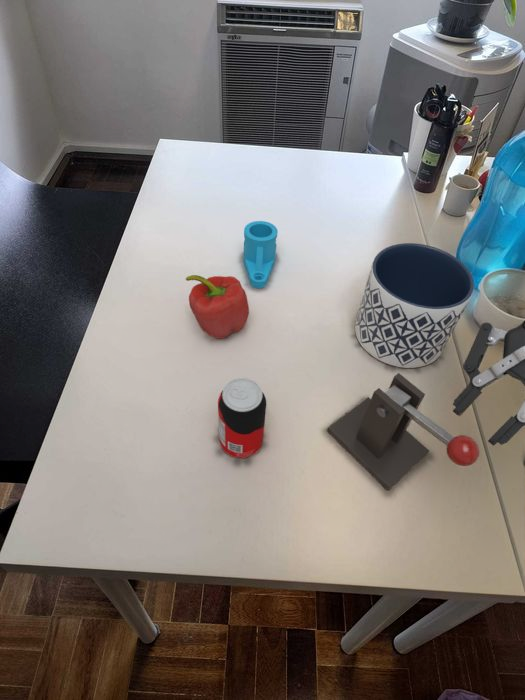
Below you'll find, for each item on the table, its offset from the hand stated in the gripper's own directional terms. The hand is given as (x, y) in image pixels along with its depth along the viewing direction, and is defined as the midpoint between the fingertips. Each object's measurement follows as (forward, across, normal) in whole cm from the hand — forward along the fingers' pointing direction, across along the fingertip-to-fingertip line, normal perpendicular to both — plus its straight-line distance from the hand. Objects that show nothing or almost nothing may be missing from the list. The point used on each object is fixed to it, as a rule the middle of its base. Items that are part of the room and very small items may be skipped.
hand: (474, 427), depth 53 cm
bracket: (+5, -51, +18) cm, 55 cm away
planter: (-2, -22, +25) cm, 34 cm away
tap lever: (+5, -4, +4) cm, 8 cm away
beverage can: (+23, -21, 0) cm, 32 cm away
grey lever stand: (+12, -9, +11) cm, 19 cm away
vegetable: (+16, -43, +8) cm, 46 cm away
